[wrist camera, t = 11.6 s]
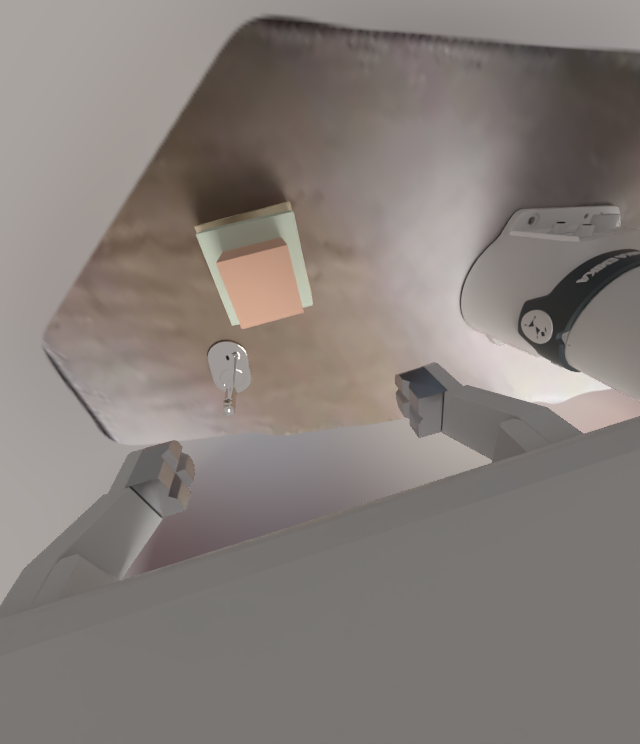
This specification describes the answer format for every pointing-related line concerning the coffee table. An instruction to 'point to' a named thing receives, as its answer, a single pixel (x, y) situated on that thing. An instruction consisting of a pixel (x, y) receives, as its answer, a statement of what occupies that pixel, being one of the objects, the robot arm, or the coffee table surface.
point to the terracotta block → (260, 282)
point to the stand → (229, 371)
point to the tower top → (248, 234)
